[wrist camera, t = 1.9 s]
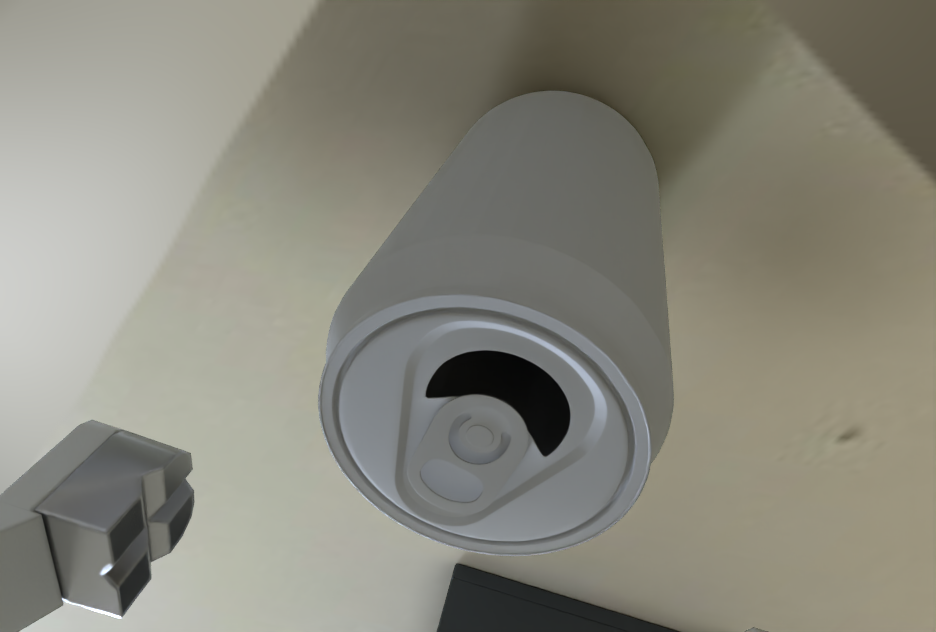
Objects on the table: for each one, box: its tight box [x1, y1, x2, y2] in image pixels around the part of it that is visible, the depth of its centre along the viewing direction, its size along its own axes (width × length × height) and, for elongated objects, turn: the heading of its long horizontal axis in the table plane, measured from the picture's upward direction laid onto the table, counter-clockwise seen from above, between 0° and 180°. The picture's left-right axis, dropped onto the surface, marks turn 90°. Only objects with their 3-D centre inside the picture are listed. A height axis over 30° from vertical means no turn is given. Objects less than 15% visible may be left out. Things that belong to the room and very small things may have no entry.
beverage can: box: [318, 91, 674, 556], centre depth 16 cm, size 6×6×12 cm
